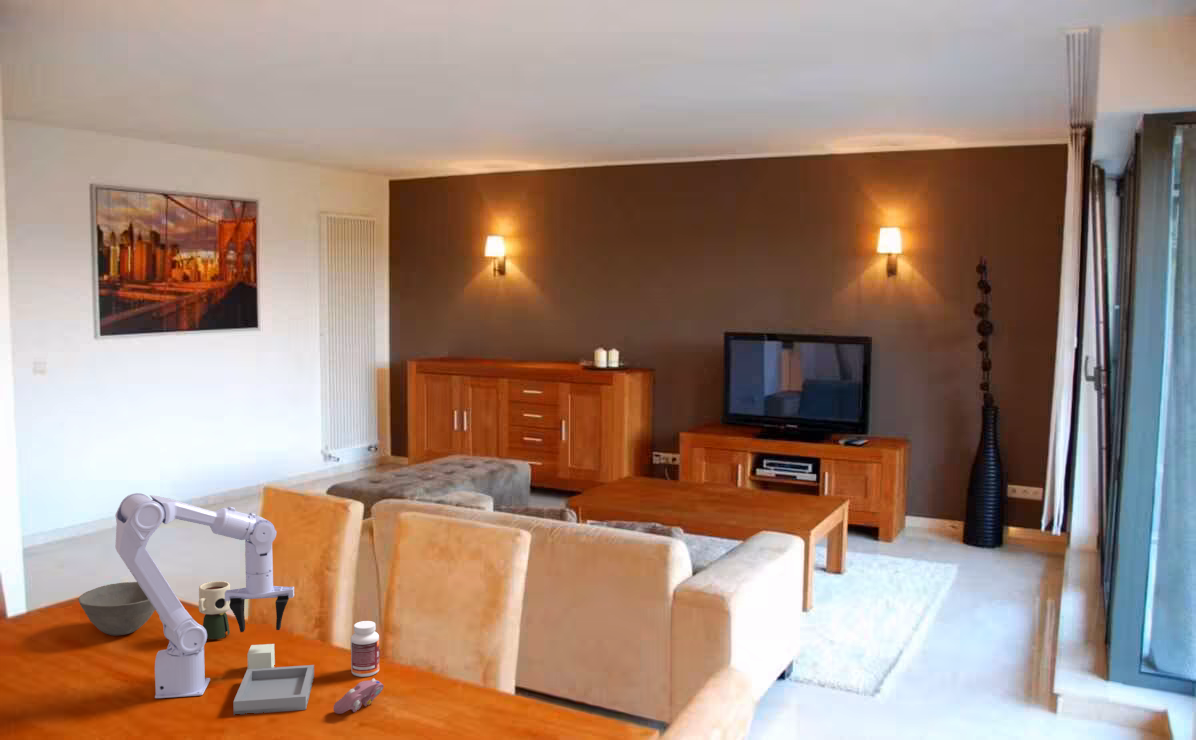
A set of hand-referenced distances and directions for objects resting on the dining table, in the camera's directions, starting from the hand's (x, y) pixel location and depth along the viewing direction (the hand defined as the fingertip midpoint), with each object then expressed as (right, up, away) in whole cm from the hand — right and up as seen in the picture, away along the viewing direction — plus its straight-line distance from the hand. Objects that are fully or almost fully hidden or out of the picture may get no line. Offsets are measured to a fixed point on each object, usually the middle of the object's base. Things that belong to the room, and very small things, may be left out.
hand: (260, 629), depth 210 cm
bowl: (-42, -7, +22) cm, 48 cm away
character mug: (-18, -7, +20) cm, 28 cm away
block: (0, -9, +1) cm, 9 cm away
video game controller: (+27, -12, -17) cm, 34 cm away
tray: (+7, -11, -12) cm, 18 cm away
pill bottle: (+23, -10, 0) cm, 25 cm away
